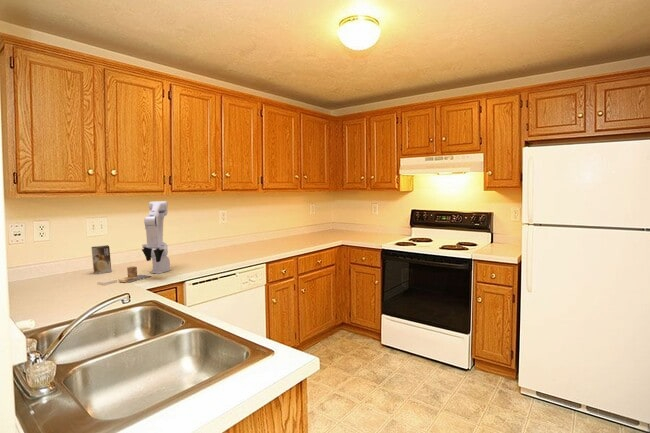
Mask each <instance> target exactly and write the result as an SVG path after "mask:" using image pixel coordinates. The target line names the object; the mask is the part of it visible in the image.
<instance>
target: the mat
mask: <svg viewBox="0 0 650 433" xmlns="http://www.w3.org/2000/svg"><path fill="white" fill-rule="evenodd" d="M137 276H138V277H139V278H138V279H134V280H131V281H127V282H126V283H134V282H137V280H138V281H140V279H141V280H144V279H143V278H145V279H148V278H152V275H146V274H137ZM147 277H148V278H147Z"/></svg>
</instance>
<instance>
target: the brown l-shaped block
mask: <svg viewBox="0 0 650 433" xmlns="http://www.w3.org/2000/svg"><path fill="white" fill-rule="evenodd" d="M126 270H127V277H123V278H119V279H118V282H119V283H128V282H127V281H131V280H134V279H138V278H139V277H138V276H137V275H138V267H137V266H133V265H131V266H128V267H127V268H126Z"/></svg>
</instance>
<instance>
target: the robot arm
mask: <svg viewBox="0 0 650 433" xmlns="http://www.w3.org/2000/svg"><path fill="white" fill-rule="evenodd" d="M148 207H149V208H148V209H149V211H148V214H147V215H146V216H145V217H144V220H143V223H144V227H145V229H144V230H145V232H146V233H145V235H146V243H143V244H142V248H141V251H142V252H143V254H144V256H145V259H146V262H151V260H152V271H149V273H152V274H156V275H157V274H158V275H159V274H163V273H166V272H170V271H171V263H170V258H169V256H168V252H169V251H168V245H167V243H166V242H165V241H164V238H163V236H164V219H165V217H166V216H168V209H169V208H168V202H167V200H163V201H162V200H160V201H155V200H154V201H152V200H151V201H150V202H149V203H148Z"/></svg>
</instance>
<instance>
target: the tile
mask: <svg viewBox="0 0 650 433" xmlns="http://www.w3.org/2000/svg"><path fill="white" fill-rule="evenodd" d="M96 283H97V285H100V286H108V285H112V284H115V283H118V282H117V279H115V278H107V279H103V280H99V281H97V282H96Z"/></svg>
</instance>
